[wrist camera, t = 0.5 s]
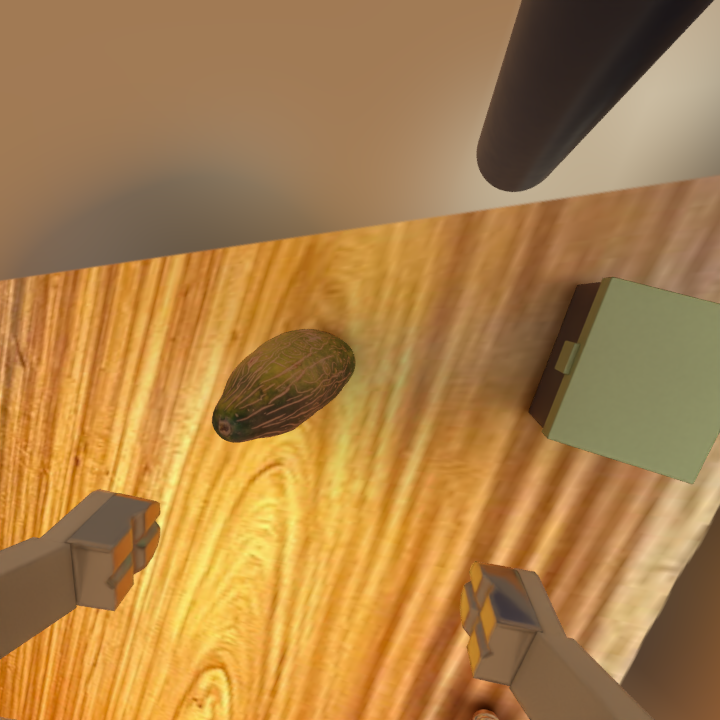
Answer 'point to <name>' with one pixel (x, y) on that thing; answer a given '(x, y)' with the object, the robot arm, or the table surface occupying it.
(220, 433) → the vegetable
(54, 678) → the table surface
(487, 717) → the light bulb
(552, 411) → the block
